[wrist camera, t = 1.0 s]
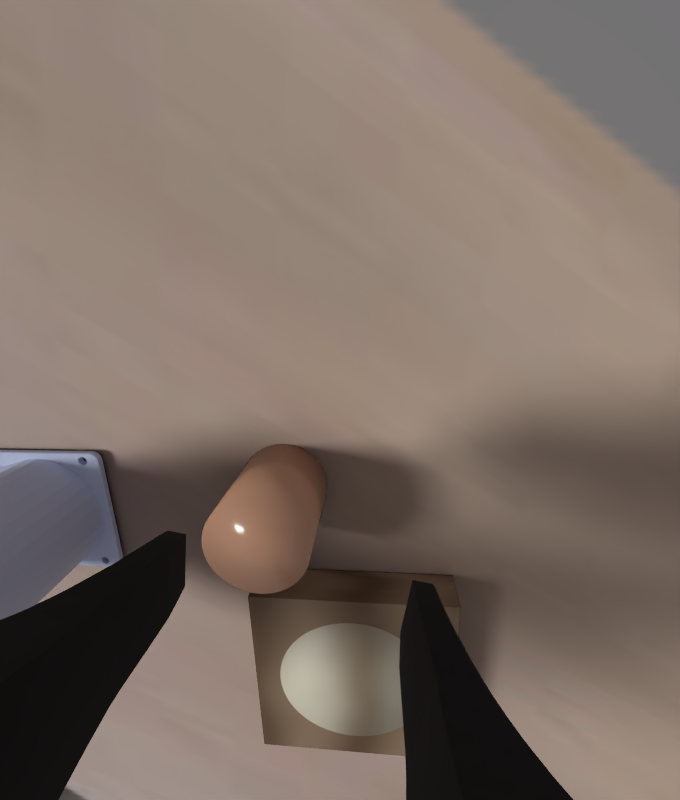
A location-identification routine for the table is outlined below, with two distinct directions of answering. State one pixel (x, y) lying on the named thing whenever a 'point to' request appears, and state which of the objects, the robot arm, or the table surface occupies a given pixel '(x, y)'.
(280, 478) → the terracotta cylinder
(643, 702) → the table surface
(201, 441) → the table surface
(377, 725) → the plinth
